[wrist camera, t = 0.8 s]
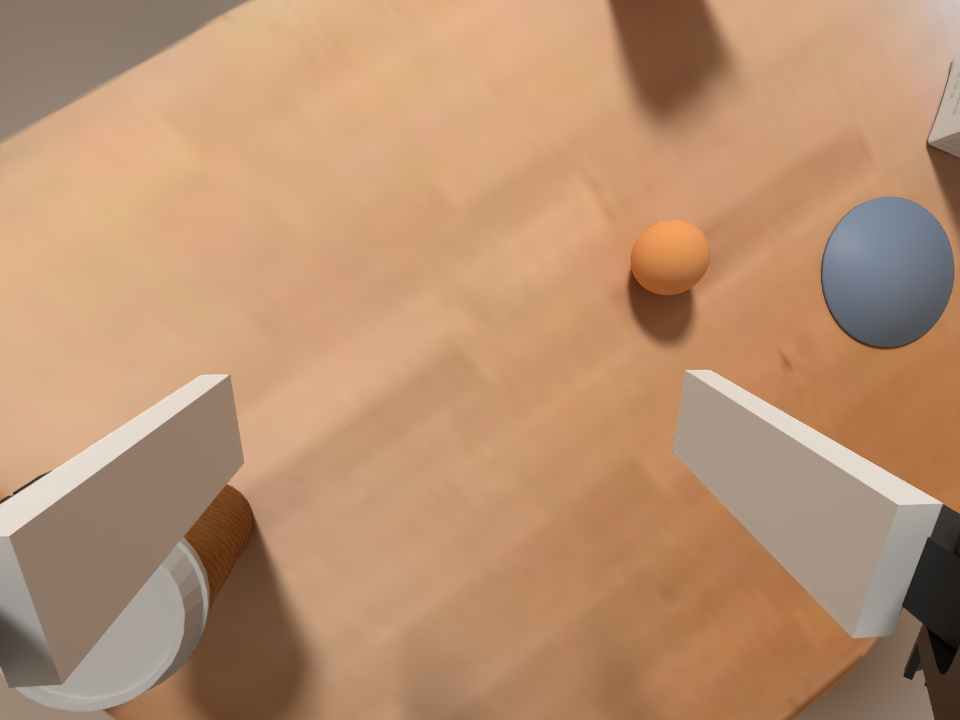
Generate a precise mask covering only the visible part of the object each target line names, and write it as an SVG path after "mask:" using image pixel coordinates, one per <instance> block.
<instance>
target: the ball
mask: <svg viewBox="0 0 960 720" xmlns="http://www.w3.org/2000/svg"><path fill="white" fill-rule="evenodd" d="M709 261H710V248H709V244H708V242H707V239H706V238H705V236H704V235H703V233H702V232H701V231H700V230H699V229H698V228H697V227H695V226H694V225H692V224H690V223H687V222H684V221H678V220H669V221H663V222H660V223H657V224H655V225H653V226H651V227H650V228H648V229H647V230H646V231H644V232H643V233H642V234H641V236H640V237H639V238H638V239H637V241H636V243H635V245H634V247H633V250H632V253H631V268H632V272H633V274H634V276H635V278H636V280H637V281H638V282H639V284H640V285H641V286H642V287H644V288H645V289H647V290H649V291H650V292H653V293H656V294H660V295H674V294H678V293H681V292H684V291H686V290H688V289H690V288H691V287H693V286H694V285H695V284H697V283H698V282H699V281H700V279H701V278H702V277H703V275H704V274H705V272H706V270H707V268H708V265H709Z"/></svg>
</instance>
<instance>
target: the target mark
mask: <svg viewBox="0 0 960 720" xmlns="http://www.w3.org/2000/svg"><path fill="white" fill-rule="evenodd" d="M821 281H822V288H823V293H824V297H825V300H826V303H827V305H828V308H829V310H830V312H831V314H832V316H833V317H834V319H835V320H836V321H837V323H838V324H839V325H840V326H841V327H842V328H843V330H844V331H845V332H847V333H848V334H849V335H851V336H852V337H853V338H855V339H857V340H859V341H861V342H863V343H866V344H868V345H872V346H878V347H895V346H900V345H904V344H907V343H910V342H912V341H914V340H916V339H918V338H919V337H921V336H922V335H924V334H925V333H926V332H927V331H928V330H930V329H931V328H932V327H933V326H934V324H935V323H936V322H937V321H938V320H939V318H940V316H941V315H942V313H943V312H944V310H945V308H946V306H947V304H948V301H949V298H950V295H951V292H952V287H953V281H954V259H953V253H952V249H951V245H950V242H949V240H948V237H947V235H946V233H945V231H944V229H943V228H942V226H941V225H940V223H939V222H938V220H937V219H936V218H935V217H934V216H933V215H932V214H931V213H930V212H929V211H928V210H926V209H925V208H924V207H922V206H921V205H919V204H917V203H915V202H913V201H911V200H907V199H904V198H898V197H883V198H877V199H873V200H870V201H867V202H865V203H863V204H861V205H859V206H857V207H856V208H854V209H853V210H851V211H850V212H849V213H848V214H847V215H845V216H844V217H843V218H842V220H841V221H840V222H839V223H838V224H837V226H836V227H835V229H834V230H833V232H832V234H831V236H830V238H829V240H828V242H827V245H826V248H825V251H824V255H823V260H822V269H821Z"/></svg>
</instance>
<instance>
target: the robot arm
mask: <svg viewBox="0 0 960 720" xmlns="http://www.w3.org/2000/svg"><path fill="white" fill-rule="evenodd" d="M672 453H673V454H674V455H675V456H676V457H677V458H678V459H679V460H680V461H681V462H682V463H683V464H684V465H685V466H686V467H687V468H688V469H689V470H690V471H691V472H692V473H693V474H694V475H695V476H696V477H697V478H698V479H699V480H700V481H701V482H702V484H703V485H704V486H705V487H706V488H707V489H708V490H709V491H710V492H711V493H712V494H713V495H714V496H715V497H716V498H717V499H718V500H719V501H720V502H721V503H722V504H723V505H724V506H725V507H726V508H727V509H728V510H729V511H730V512H731V513H732V514H733V515H734V516H735V517H736V519H737V520H738V521H739V522H740V523H741V524H742V525H743V526H744V527H745V528H746V529H747V530H748V531H749V532H750V533H751V534H752V535H753V536H754V537H755V538H756V539H757V540H758V541H759V542H760V543H761V544H762V545H763V546H764V547H765V548H766V549H767V550H768V551H769V553H770V554H771V555H772V556H773V557H774V558H775V559H776V560H777V561H778V562H779V563H780V564H781V565H782V566H783V567H784V568H785V569H786V570H787V571H788V572H789V573H790V574H791V575H792V576H793V577H794V578H795V579H796V580H797V581H798V582H799V583H800V584H801V585H802V586H803V588H804V589H805V590H806V591H807V592H808V593H809V594H810V595H811V596H812V597H813V598H814V599H815V600H816V601H817V602H818V603H819V604H820V605H821V606H822V607H823V608H824V609H825V610H826V611H827V612H828V613H829V614H830V615H831V616H832V617H833V618H834V619H835V620H836V621H837V623H838V624H839V625H840V626H841V627H842V628H843V629H844V630H845V631H846V632H847V633H848V634H849V635H850V636H851V637H852V638H862V637H878V636H892V635H893V633H894V630H895V628H896V625H897V623H898V620H899V617H900V615H901V612H902V610H903V607H904V608H905V609H906V610H907V611H909V612H910V613H911V614H912V615H913V616H915V617H916V618H917V619H918V620H919V621H921V622H922V623H923V625H922V627H921V630H920V632H919V635H918V637H917V639H916V642H915V644H914V647H913V649H912V652H911V654H910V657H909V659H908V662H907V664H906V667H905V671H904V677H906V678H909V679H911V680H912V679H913V676H914V674H915V672H916V671H919V670H922V669H923V672H924V676H925V680H926V682H925V686H927V689H928V693H929V698H930V702H931V706H932V711H933V714H934V719H935V720H960V514H959V513H957V512H956V511H954V510H952V509H950V508H949V507H947V506H945V505H944V504H943V503H941V502H939V501H938V500H936V499H934V498H932V497H931V496H929V495H927V494H926V493H924V492H922V491H920V490H919V489H917V488H915V487H913V486H912V485H910V484H908V483H906V482H905V481H903V480H901V479H899V478H898V477H896V476H894V475H892V474H891V473H889V472H887V471H885V470H884V469H882V468H880V467H878V466H877V465H875V464H873V463H871V462H870V461H868V460H866V459H864V458H863V457H861V456H859V455H857V454H856V453H854V452H852V451H850V450H849V449H847V448H845V447H844V446H842V445H840V444H838V443H837V442H835V441H833V440H831V439H830V438H828V437H826V436H824V435H823V434H821V433H819V432H817V431H816V430H814V429H812V428H810V427H809V426H807V425H805V424H803V423H802V422H800V421H798V420H796V419H795V418H793V417H791V416H789V415H788V414H786V413H784V412H782V411H781V410H779V409H777V408H775V407H774V406H772V405H770V404H768V403H767V402H765V401H763V400H761V399H760V398H758V397H756V396H755V395H753V394H751V393H749V392H748V391H746V390H744V389H742V388H741V387H739V386H737V385H735V384H734V383H732V382H730V381H728V380H727V379H725V378H723V377H721V376H720V375H718V374H716V373H714V372H713V371H711V370H685V376H684V382H683V388H682V394H681V400H680V406H679V412H678V419H677V425H676V431H675V437H674V443H673V449H672ZM243 463H244V458H243V452H242V446H241V439H240V433H239V427H238V421H237V415H236V408H235V402H234V396H233V390H232V384H231V377H230V375H200V376H199V377H197V378H195V379H194V380H192V381H191V382H189V383H188V384H186V385H185V386H183V387H181V388H180V389H178V390H177V391H175V392H174V393H172V394H171V395H169V396H168V397H166V398H164V399H163V400H161V401H160V402H158V403H157V404H155V405H154V406H152V407H151V408H149V409H147V410H146V411H144V412H143V413H141V414H140V415H138V416H137V417H135V418H133V419H132V420H130V421H129V422H127V423H126V424H124V425H123V426H121V427H120V428H118V429H116V430H115V431H113V432H112V433H110V434H109V435H107V436H106V437H104V438H102V439H101V440H99V441H98V442H96V443H95V444H93V445H92V446H90V447H89V448H87V449H85V450H84V451H82V452H81V453H79V454H78V455H76V456H75V457H73V458H71V459H70V460H68V461H67V462H65V463H64V464H62V465H61V466H59V467H58V468H56V469H54V470H52V471H50V472H48V473H45V474H43V475H41V476H39V477H37V478H35V479H34V480H32V481H31V482H29V483H28V484H26V485H24V486H23V487H21V488H20V489H18V490H17V491H15V492H13V496H7V497H6V498H4V499H2V500H1V501H0V667H1V669H2V672H3V674H4V677H5V679H6V682H7V684H8V686H9V688H15V687H32V686H49V685H62V684H63V683H64V682H65V681H66V680H67V678H68V677H69V676H70V675H71V674H72V672H73V671H74V670H75V669H76V667H77V666H78V665H79V664H80V663H81V661H82V660H83V659H84V658H85V656H86V655H87V654H88V653H89V652H90V650H91V649H92V648H93V647H94V645H95V644H96V643H97V642H98V641H99V639H100V638H101V637H102V636H103V634H104V633H105V632H106V631H107V630H108V628H109V627H110V626H111V625H112V623H113V622H114V621H115V620H116V619H117V617H118V616H119V615H120V614H121V612H122V611H123V610H124V609H125V608H126V606H127V605H128V604H129V603H130V601H131V600H132V599H133V598H134V597H135V595H136V594H137V593H138V592H139V590H140V589H141V588H142V587H143V586H144V584H145V583H146V582H147V581H148V579H149V578H150V577H151V576H152V575H153V573H154V572H155V571H156V570H157V568H158V567H159V566H160V565H161V564H162V562H163V561H164V560H165V559H166V557H167V556H168V555H169V554H170V553H171V551H172V550H173V549H174V548H175V546H176V545H177V544H178V543H179V542H180V540H181V539H182V538H183V537H184V535H185V534H186V533H187V532H188V531H189V529H190V528H191V527H192V526H193V524H194V523H195V522H196V521H197V520H198V518H199V517H200V516H201V515H202V513H203V512H204V511H205V510H206V509H207V507H208V506H209V505H210V504H211V502H212V501H213V500H214V499H215V498H216V496H217V495H218V494H219V493H220V491H221V490H222V489H223V488H224V487H225V485H226V484H227V483H228V482H229V480H230V479H231V478H232V477H233V476H234V474H235V473H236V472H237V471H238V469H239V468H240V467H241V466H242V465H243Z"/></svg>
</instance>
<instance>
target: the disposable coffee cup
mask: <svg viewBox="0 0 960 720" xmlns="http://www.w3.org/2000/svg"><path fill="white" fill-rule="evenodd" d="M252 527H253V515H252V511H251V508H250V506H249V504H248V502H247V500H246V499H245V497H244V496H243V495H242V494H241V493H240V492H239V491H237V490H236V489H235V488H233V487H232V486H230V485H227V484H226V485H225V487H224V488H223V489H222V490H221V491H220V493H219V494H218V495H217V496H216V498H215V499H214V500H213V501H212V502H211V504H210V505H209V506H208V507H207V509H206V510H205V511H204V512H203V513H202V515H201V516H200V517H199V518H198V520H197V521H196V522H195V523H194V524H193V526H192V527H191V528H190V529H189V531H188V532H187V533H186V534H185V535H184V537H183V538H182V539H181V540H180V542H179V543H178V544H177V545H176V546H175V548H174V549H173V550H172V551H171V553H170V554H169V555H168V556H167V557H166V559H165V560H164V561H163V562H162V564H161V565H160V566H159V567H158V568H157V570H156V571H155V572H154V573H153V575H152V576H151V577H150V578H149V579H148V581H147V582H146V583H145V584H144V586H143V587H142V588H141V589H140V590H139V592H138V593H137V594H136V595H135V597H134V598H133V599H132V600H131V601H130V603H129V604H128V605H127V606H126V608H125V609H124V610H123V611H122V612H121V614H120V615H119V616H118V617H117V619H116V620H115V621H114V622H113V623H112V625H111V626H110V627H109V628H108V630H107V631H106V632H105V633H104V634H103V636H102V637H101V638H100V639H99V641H98V642H97V643H96V644H95V645H94V647H93V648H92V649H91V650H90V652H89V653H88V654H87V655H86V656H85V658H84V659H83V660H82V661H81V663H80V664H79V665H78V666H77V667H76V669H75V670H74V671H73V672H72V674H71V675H70V676H69V677H68V678H67V680H66V681H65V682H64V683H63V684H62V685H49V686H32V687H15V689H17V690H18V691H19V692H21V693H22V694H23V695H25V696H26V697H27V698H30V699H32V700H34V701H36V702H38V703H40V704H42V705H45V706H48V707H52V708H55V709H62V710H68V711H95V710H101V709H107V708H110V707H113V706H116V705H120V704H123V703H125V702H127V701H129V700H131V699H133V698H135V697H137V696H138V695H140V694H141V693H143V692H144V691H147V690H149V689H151V688H153V687H155V686H156V685H158V684H160V683H162V682H163V681H165V680H166V679H167V678H169V677H170V676H171V675H172V674H174V673H175V672H176V671H177V670H178V669H179V668H180V667H181V666H182V665H183V664H184V663H185V662H186V660H187V659H188V658H189V657H190V656H191V654H192V653H193V651H194V649H195V648H196V646H197V644H198V643H199V641H200V639H201V636H202V634H203V631H204V629H205V626H206V621H207V616H208V611H209V609H210V607H211V606H212V603H213V602H214V600H215V598H216V596H217V595H218V593H219V591H220V589H221V588H222V586H223V584H224V582H225V580H226V579H227V577H228V575H229V573H230V571H231V569H232V568H233V566H234V564H235V562H236V561H237V559H238V557H239V555H240V553H241V552H242V550H243V548H244V546H245V545H246V543H247V541H248V539H249V538H250V535H251V532H252ZM0 673H1V674H2V675H3V676H4V674H3V672H2V669H1V667H0Z"/></svg>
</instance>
